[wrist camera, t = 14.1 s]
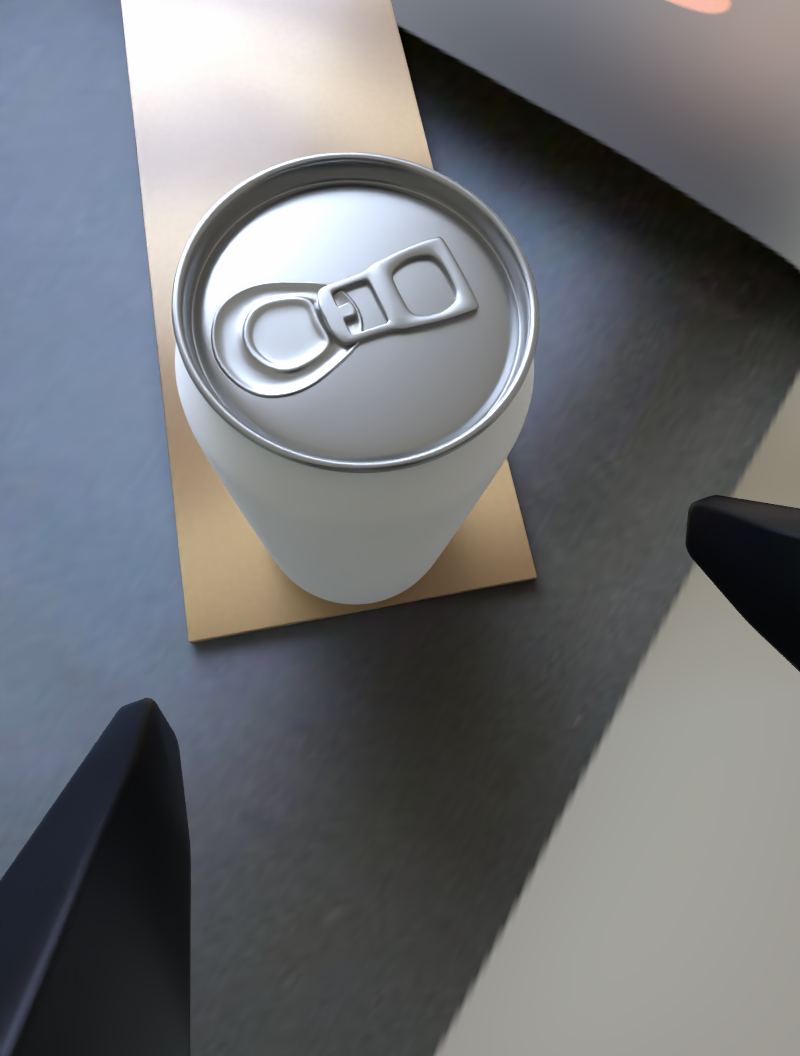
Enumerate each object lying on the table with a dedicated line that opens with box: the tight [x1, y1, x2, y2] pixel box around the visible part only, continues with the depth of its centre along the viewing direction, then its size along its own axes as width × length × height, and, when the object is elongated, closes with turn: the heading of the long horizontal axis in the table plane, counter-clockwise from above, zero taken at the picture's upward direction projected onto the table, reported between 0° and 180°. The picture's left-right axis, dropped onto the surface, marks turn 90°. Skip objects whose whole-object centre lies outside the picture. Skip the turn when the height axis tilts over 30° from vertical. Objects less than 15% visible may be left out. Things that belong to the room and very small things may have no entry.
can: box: [172, 152, 539, 605], centre depth 15 cm, size 6×6×12 cm
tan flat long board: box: [121, 0, 537, 643], centre depth 24 cm, size 36×12×1 cm, turn 11°
